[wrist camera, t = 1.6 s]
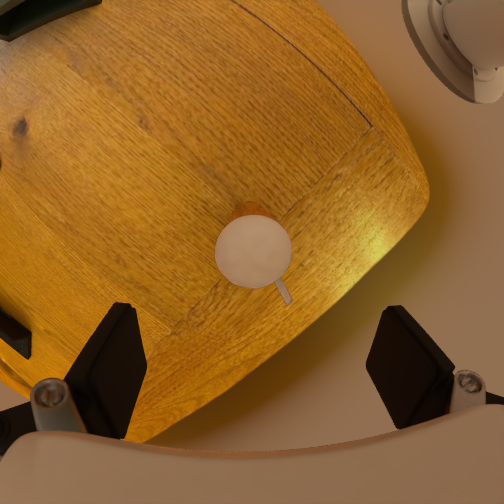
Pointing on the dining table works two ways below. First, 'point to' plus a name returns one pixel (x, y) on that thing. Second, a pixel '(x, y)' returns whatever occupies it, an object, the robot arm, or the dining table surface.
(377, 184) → the dining table surface
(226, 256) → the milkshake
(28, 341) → the handheld gaming console
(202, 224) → the dining table surface
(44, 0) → the shelf unit
